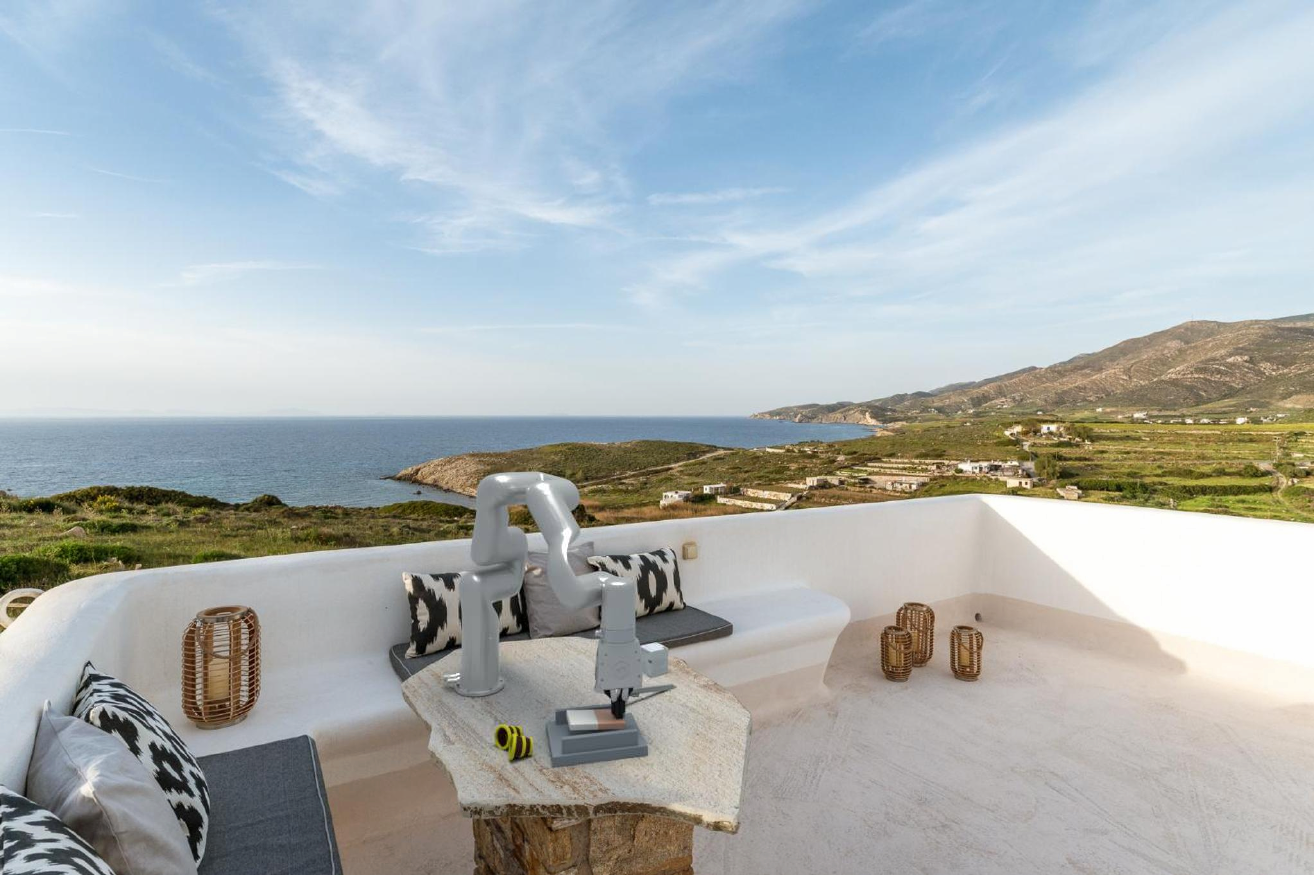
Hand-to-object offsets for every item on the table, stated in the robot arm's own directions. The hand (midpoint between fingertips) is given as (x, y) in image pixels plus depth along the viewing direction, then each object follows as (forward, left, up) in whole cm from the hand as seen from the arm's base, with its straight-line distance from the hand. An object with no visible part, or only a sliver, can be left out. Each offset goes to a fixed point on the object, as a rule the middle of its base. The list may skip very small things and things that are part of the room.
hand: (618, 716), depth 136 cm
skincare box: (+18, +36, -6) cm, 41 cm away
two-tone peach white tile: (-5, 0, -1) cm, 5 cm away
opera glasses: (-22, +1, -6) cm, 23 cm away
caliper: (+12, +20, -6) cm, 24 cm away
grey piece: (-5, 0, -5) cm, 7 cm away
